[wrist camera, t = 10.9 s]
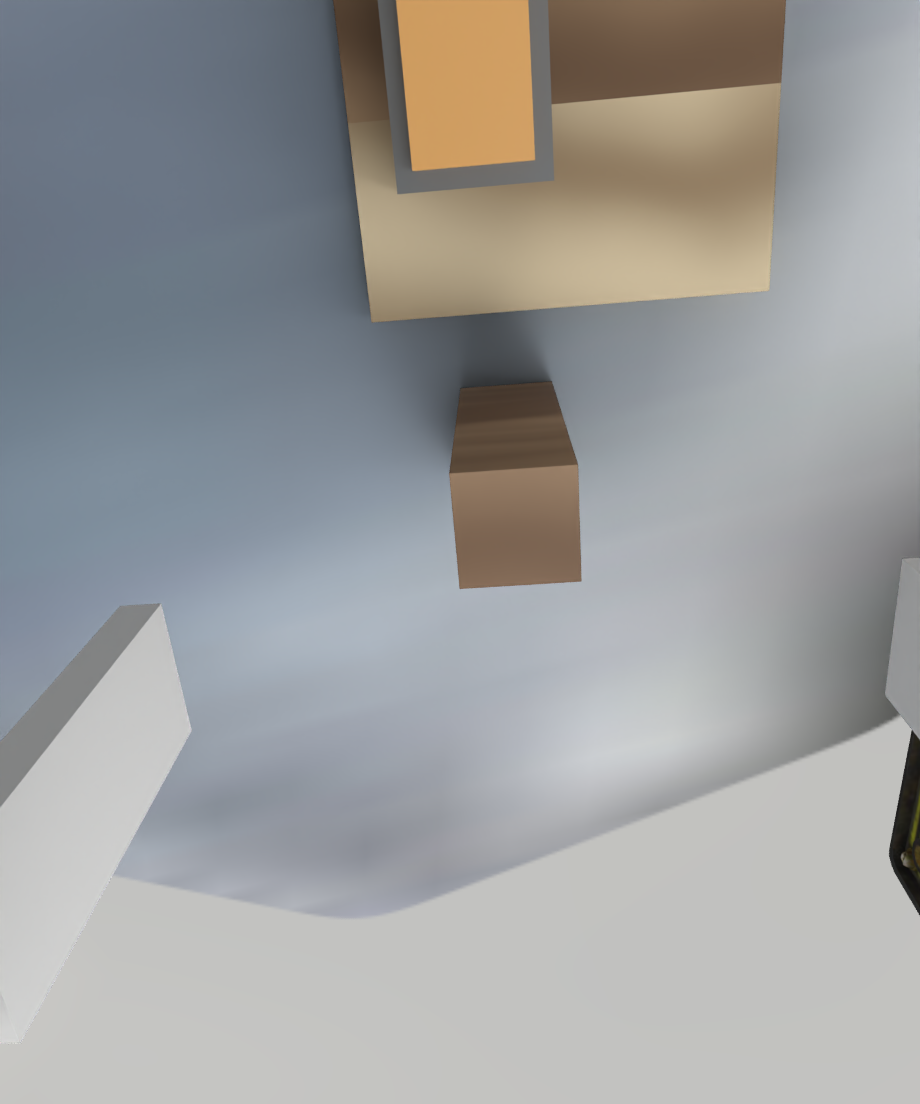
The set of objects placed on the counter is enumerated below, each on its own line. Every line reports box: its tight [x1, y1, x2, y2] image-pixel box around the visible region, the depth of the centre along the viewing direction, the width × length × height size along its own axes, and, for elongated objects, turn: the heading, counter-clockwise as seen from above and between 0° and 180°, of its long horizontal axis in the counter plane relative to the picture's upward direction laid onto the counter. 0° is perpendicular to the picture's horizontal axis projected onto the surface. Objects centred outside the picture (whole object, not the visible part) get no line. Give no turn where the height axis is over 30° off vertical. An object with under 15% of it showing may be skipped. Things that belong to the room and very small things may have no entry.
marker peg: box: [449, 381, 581, 589], centre depth 25 cm, size 3×3×9 cm
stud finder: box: [378, 0, 554, 194], centre depth 21 cm, size 8×4×4 cm, turn 5°
